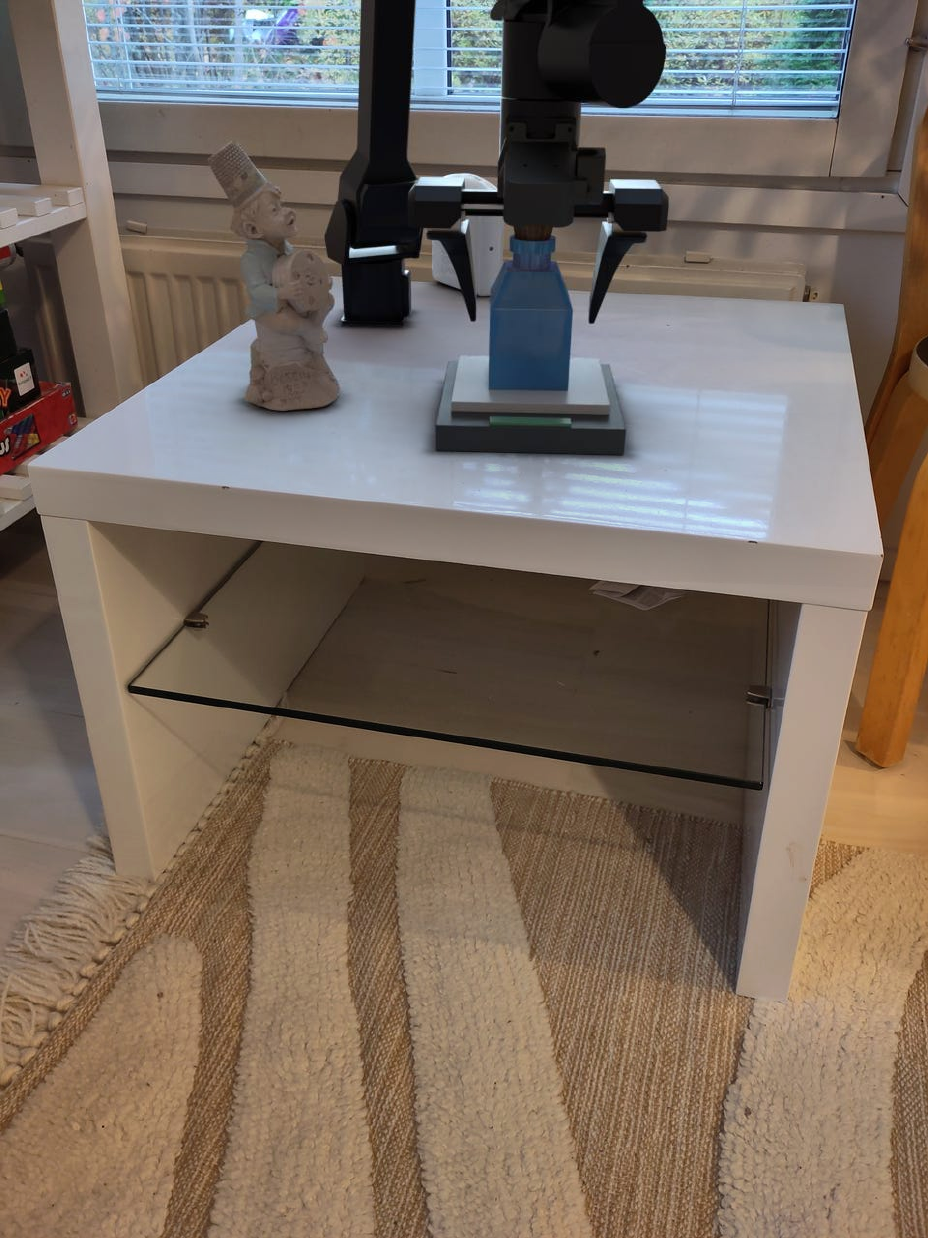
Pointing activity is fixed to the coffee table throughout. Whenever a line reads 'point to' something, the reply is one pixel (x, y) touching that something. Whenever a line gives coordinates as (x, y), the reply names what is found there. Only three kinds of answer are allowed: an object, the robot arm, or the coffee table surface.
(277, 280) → the figurine
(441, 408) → the scale
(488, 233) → the photo printer
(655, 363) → the coffee table surface
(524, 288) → the perfume bottle
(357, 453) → the coffee table surface
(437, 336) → the coffee table surface
